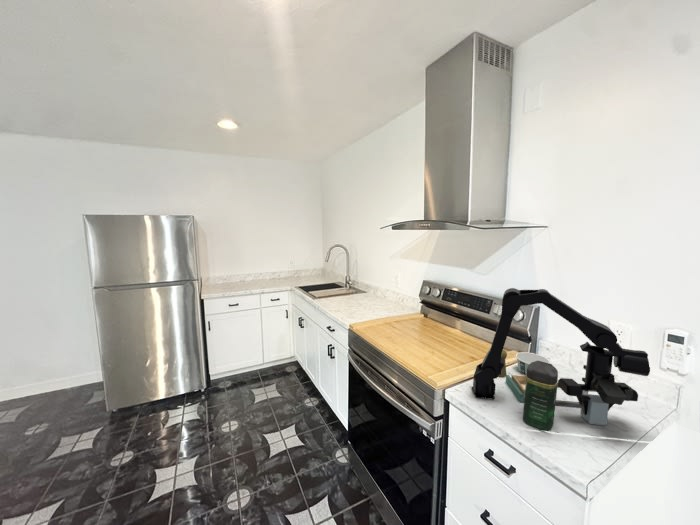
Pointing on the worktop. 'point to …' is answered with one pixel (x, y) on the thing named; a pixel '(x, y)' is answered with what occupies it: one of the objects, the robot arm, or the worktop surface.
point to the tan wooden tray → (520, 382)
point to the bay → (520, 397)
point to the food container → (528, 360)
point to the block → (596, 411)
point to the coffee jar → (540, 395)
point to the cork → (504, 354)
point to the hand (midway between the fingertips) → (593, 415)
